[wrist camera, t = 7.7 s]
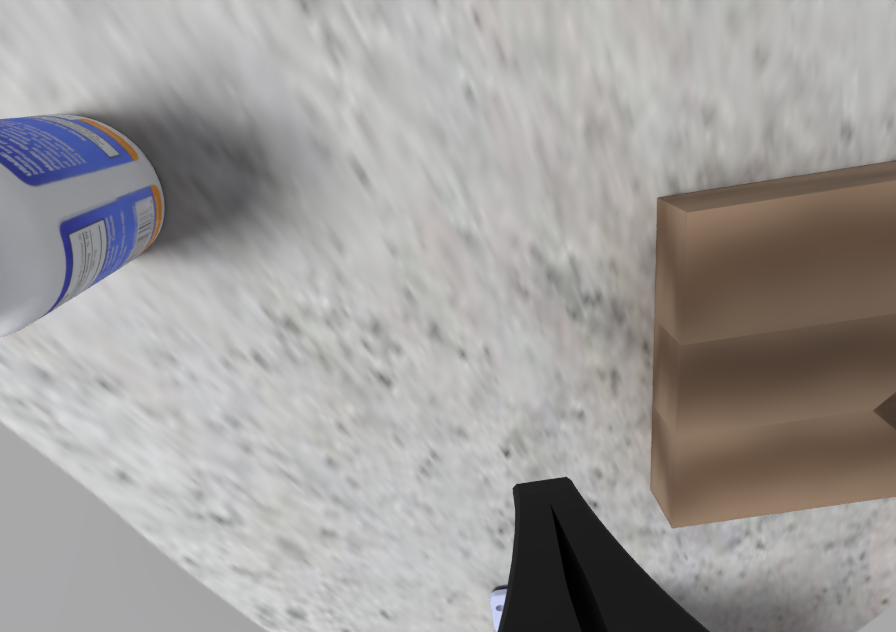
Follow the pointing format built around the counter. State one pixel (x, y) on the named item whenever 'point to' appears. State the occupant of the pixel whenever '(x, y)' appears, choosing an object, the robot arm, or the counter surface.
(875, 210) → the walnut plate
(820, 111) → the counter surface
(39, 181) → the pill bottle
